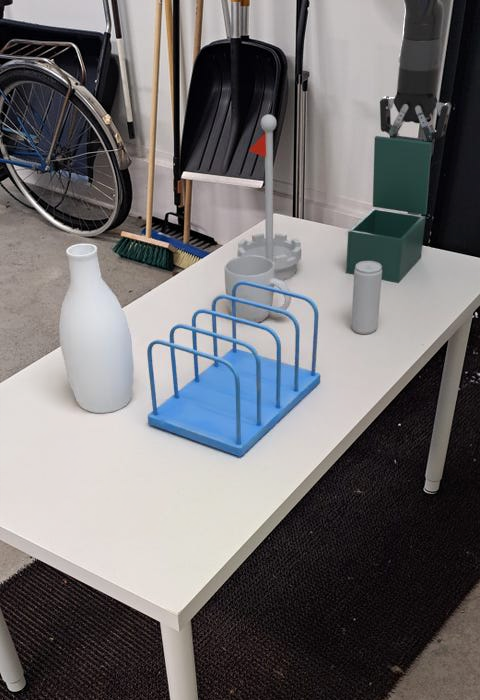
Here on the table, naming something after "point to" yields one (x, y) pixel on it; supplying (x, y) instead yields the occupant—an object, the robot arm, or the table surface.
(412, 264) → the box
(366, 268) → the beverage can
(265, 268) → the mug
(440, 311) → the table surface
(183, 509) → the table surface
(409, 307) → the table surface
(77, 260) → the bottle
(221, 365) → the file sorter
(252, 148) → the flag stand
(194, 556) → the table surface
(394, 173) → the lid
